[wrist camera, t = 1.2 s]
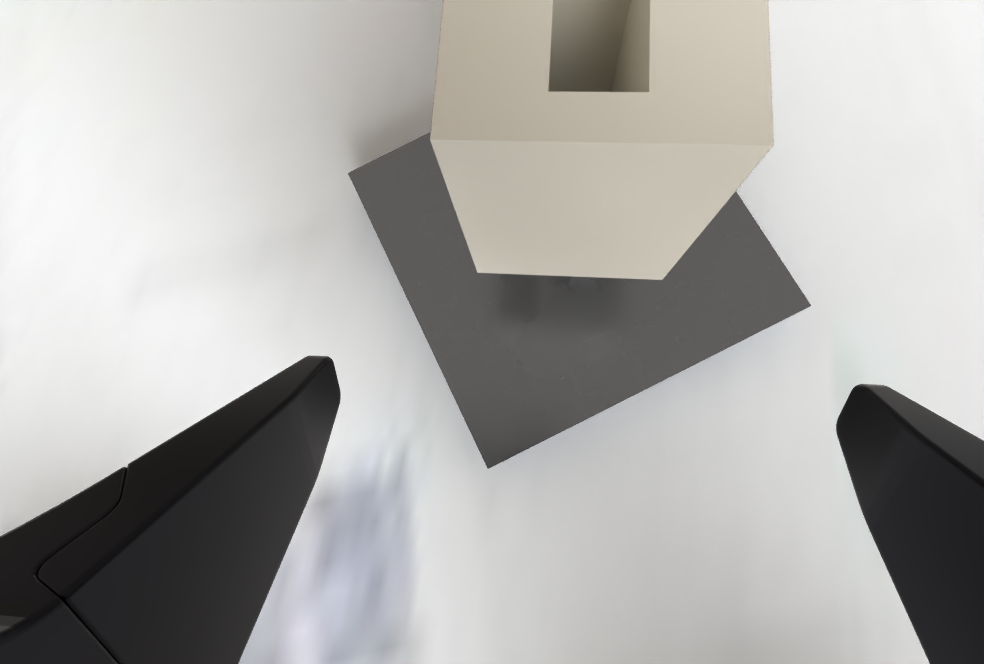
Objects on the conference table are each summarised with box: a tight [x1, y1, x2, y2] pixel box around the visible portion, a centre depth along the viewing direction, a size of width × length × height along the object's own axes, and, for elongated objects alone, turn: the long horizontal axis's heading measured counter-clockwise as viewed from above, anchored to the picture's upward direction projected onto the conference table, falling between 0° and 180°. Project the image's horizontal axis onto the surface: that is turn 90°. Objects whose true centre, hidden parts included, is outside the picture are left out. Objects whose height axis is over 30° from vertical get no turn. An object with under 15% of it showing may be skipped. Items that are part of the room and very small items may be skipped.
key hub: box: [348, 132, 811, 469], centre depth 21 cm, size 14×14×6 cm
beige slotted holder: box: [430, 0, 774, 280], centre depth 14 cm, size 6×6×8 cm
